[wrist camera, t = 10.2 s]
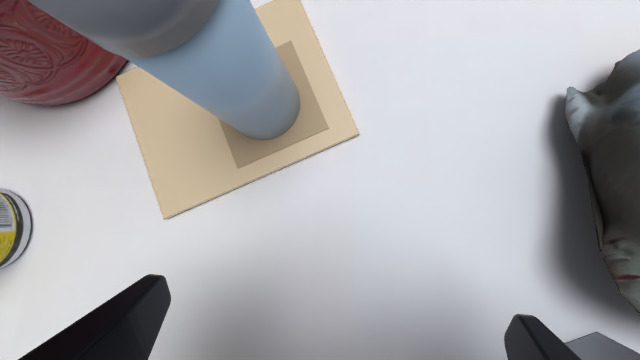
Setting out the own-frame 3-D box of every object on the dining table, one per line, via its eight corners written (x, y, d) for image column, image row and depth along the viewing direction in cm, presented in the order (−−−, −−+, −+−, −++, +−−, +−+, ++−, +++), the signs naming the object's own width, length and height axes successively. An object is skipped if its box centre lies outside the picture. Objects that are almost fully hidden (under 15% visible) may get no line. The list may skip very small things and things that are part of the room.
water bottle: (249, 156, 20) (40, 54, 7) (215, 93, 20) (-32, -104, 8) (315, 116, 20) (223, -66, 7) (278, 53, 20) (130, -221, 7)
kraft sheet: (167, 218, 21) (162, 219, 20) (119, 79, 22) (114, 76, 22) (359, 134, 20) (359, 132, 19) (296, -7, 21) (295, -12, 20)
